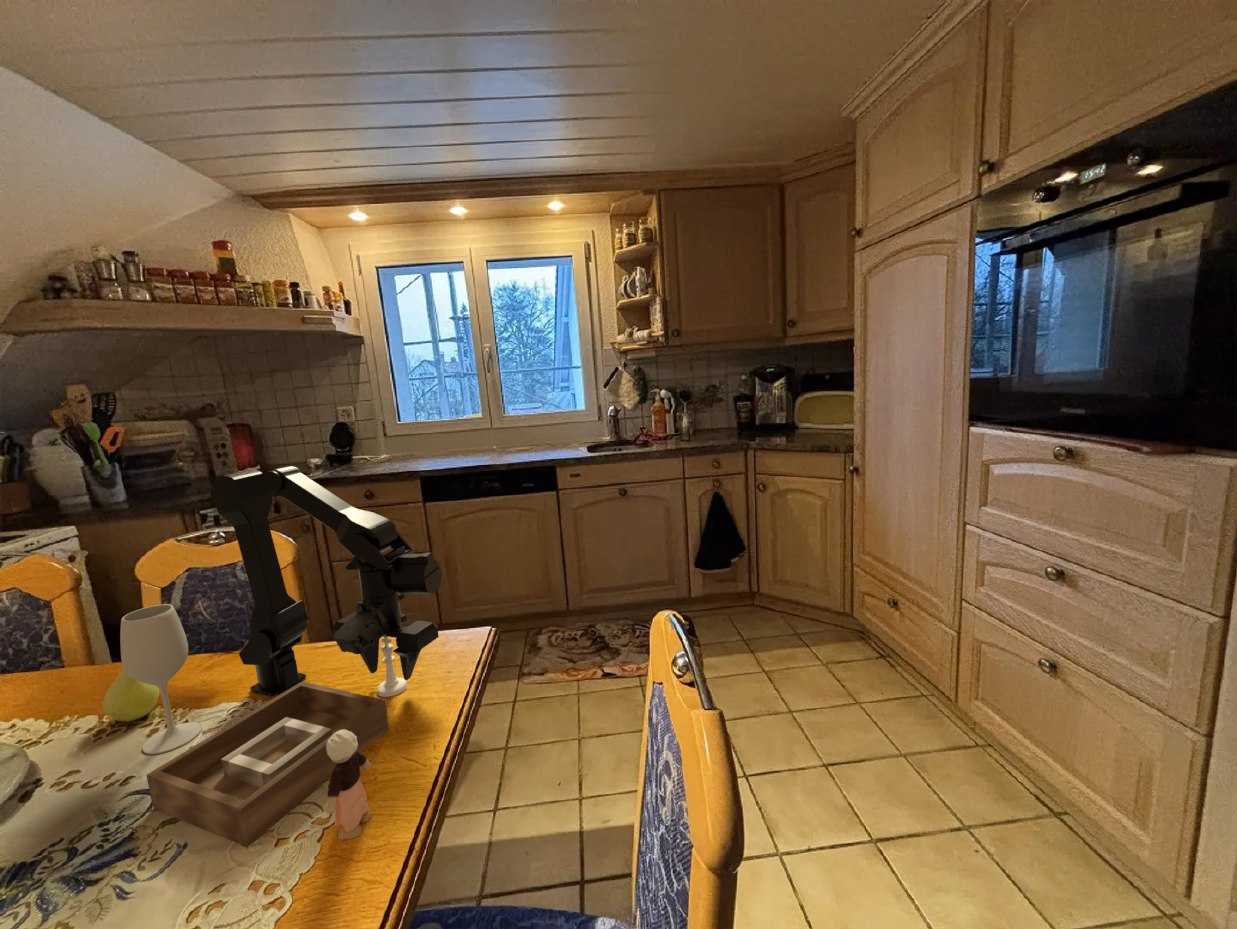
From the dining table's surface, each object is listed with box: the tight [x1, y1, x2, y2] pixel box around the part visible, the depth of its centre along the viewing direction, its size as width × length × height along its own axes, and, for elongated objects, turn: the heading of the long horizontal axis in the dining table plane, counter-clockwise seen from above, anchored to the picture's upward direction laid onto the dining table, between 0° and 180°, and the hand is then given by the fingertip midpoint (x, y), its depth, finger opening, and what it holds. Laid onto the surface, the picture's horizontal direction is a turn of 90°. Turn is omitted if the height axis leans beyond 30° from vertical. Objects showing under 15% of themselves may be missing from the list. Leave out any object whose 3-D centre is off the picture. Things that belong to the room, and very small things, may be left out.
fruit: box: [102, 666, 160, 722], centre depth 88 cm, size 7×8×12 cm
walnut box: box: [146, 681, 390, 848], centre depth 75 cm, size 18×22×5 cm
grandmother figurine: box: [325, 729, 373, 841], centre depth 63 cm, size 8×4×13 cm, turn 5°
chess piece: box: [376, 636, 408, 698], centre depth 92 cm, size 5×5×10 cm
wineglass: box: [119, 603, 203, 755], centre depth 81 cm, size 8×8×21 cm
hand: (390, 675), depth 93 cm, fingers open, 7 cm apart
